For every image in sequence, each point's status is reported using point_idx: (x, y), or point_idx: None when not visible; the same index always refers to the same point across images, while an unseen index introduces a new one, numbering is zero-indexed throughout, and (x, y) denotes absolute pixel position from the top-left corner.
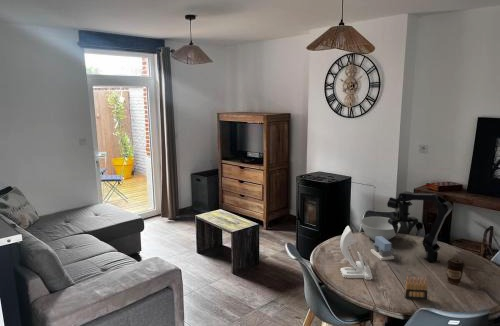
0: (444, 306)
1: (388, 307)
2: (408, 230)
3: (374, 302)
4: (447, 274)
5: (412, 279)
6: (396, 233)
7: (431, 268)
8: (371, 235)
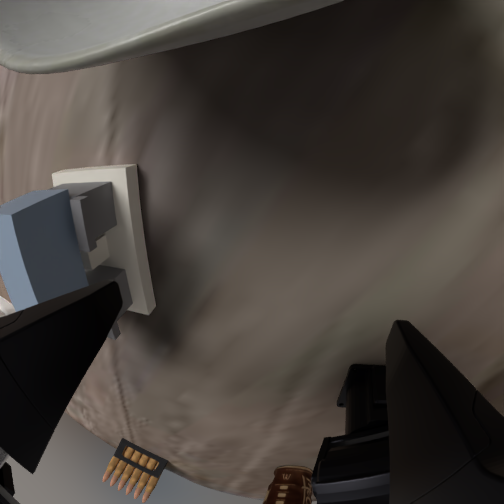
0: (191, 478)
1: (89, 431)
2: (400, 365)
3: (68, 412)
4: (269, 487)
5: (115, 482)
6: (110, 318)
7: (295, 426)
8: (73, 2)
